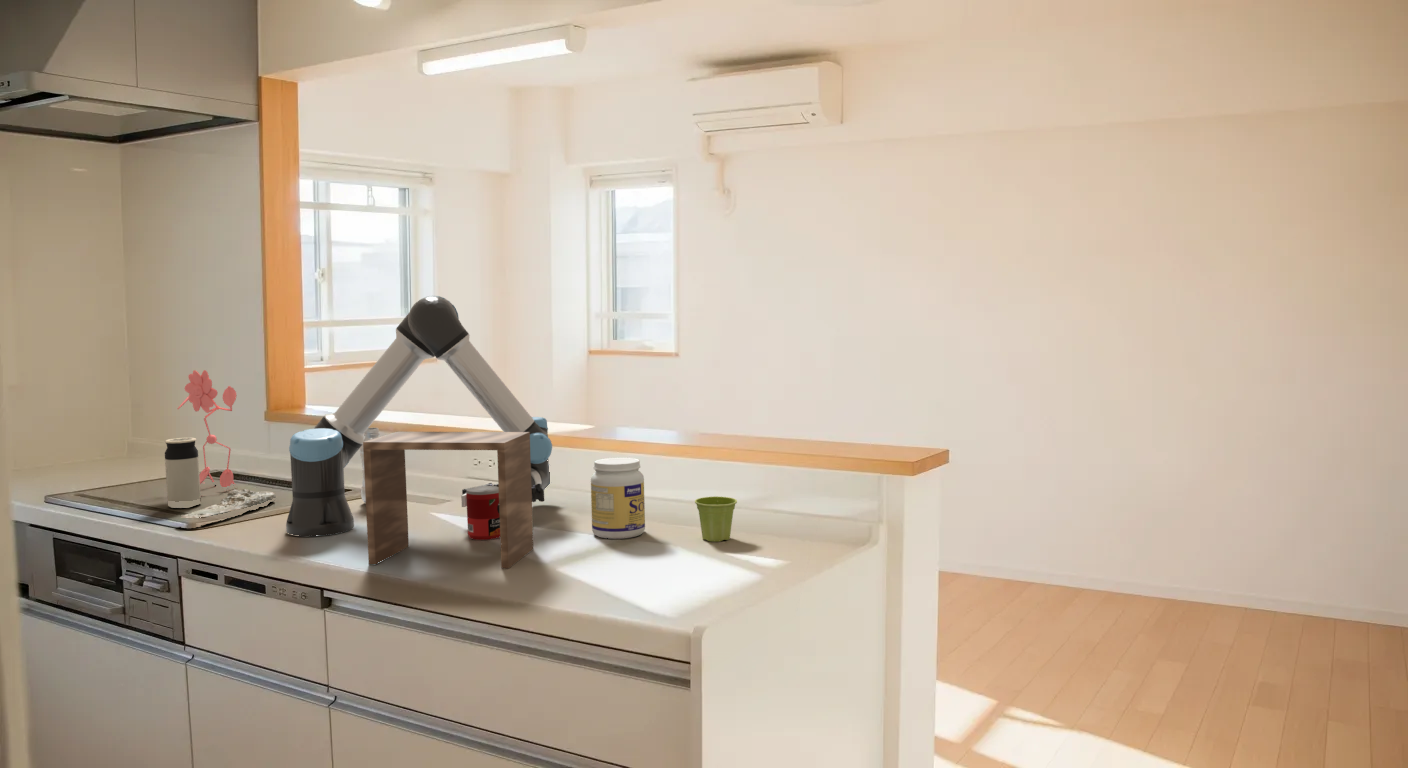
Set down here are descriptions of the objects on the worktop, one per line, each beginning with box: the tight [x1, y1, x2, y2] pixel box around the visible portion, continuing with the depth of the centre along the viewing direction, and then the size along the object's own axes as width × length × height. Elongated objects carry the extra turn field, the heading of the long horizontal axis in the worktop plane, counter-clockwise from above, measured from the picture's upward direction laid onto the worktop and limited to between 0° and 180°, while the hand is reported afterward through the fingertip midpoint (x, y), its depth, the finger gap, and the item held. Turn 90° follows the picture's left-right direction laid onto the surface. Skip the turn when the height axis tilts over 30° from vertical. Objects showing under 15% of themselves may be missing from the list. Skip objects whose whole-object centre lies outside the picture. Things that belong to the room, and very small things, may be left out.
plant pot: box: [694, 495, 738, 543], centre depth 239 cm, size 9×9×9 cm
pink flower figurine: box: [177, 369, 237, 488], centre depth 308 cm, size 15×26×35 cm, turn 61°
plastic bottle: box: [359, 427, 380, 504], centre depth 287 cm, size 6×7×20 cm
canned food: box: [466, 485, 500, 541], centre depth 246 cm, size 8×8×11 cm
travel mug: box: [164, 437, 202, 502], centre depth 287 cm, size 8×8×18 cm
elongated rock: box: [180, 488, 277, 518], centre depth 276 cm, size 35×5×10 cm
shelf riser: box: [363, 431, 534, 569], centre depth 226 cm, size 30×16×26 cm, turn 81°
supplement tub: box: [590, 457, 646, 540], centre depth 246 cm, size 12×12×17 cm
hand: (491, 501), depth 248 cm, fingers open, 13 cm apart
